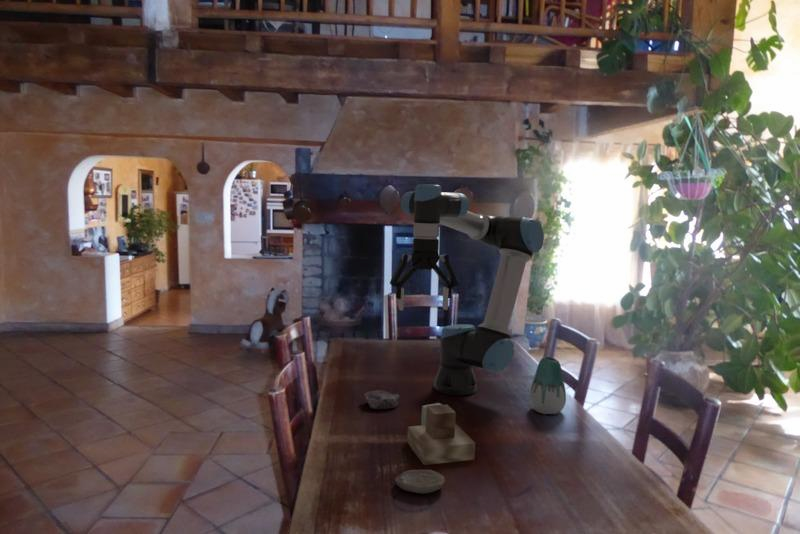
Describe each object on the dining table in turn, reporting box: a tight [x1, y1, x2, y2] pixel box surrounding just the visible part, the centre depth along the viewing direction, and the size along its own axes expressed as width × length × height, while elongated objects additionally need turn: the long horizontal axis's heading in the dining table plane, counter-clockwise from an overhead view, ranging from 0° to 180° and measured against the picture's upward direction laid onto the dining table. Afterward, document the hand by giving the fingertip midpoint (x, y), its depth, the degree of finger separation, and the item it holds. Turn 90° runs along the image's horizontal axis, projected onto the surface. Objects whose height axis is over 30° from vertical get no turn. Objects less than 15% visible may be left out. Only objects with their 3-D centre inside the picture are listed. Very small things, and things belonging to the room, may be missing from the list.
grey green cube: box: [420, 402, 443, 426], centre depth 172 cm, size 6×6×6 cm
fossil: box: [395, 469, 446, 494], centre depth 136 cm, size 10×12×3 cm
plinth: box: [406, 422, 476, 466], centre depth 156 cm, size 14×14×5 cm
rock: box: [363, 389, 400, 410], centre depth 188 cm, size 8×11×5 cm
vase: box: [528, 356, 567, 415], centre depth 188 cm, size 12×12×18 cm
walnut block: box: [426, 404, 457, 440], centre depth 156 cm, size 6×6×7 cm
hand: (423, 309), depth 171 cm, fingers open, 13 cm apart
